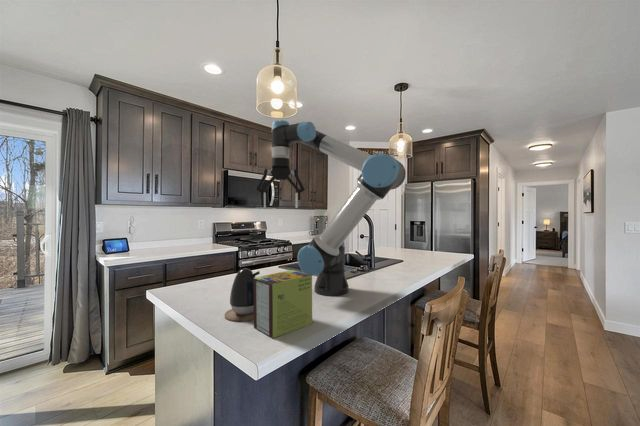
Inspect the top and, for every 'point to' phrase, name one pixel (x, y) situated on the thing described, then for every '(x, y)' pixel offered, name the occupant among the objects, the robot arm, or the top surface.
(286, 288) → the protein box
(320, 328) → the top surface
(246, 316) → the walnut trivet
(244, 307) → the pump dispenser
